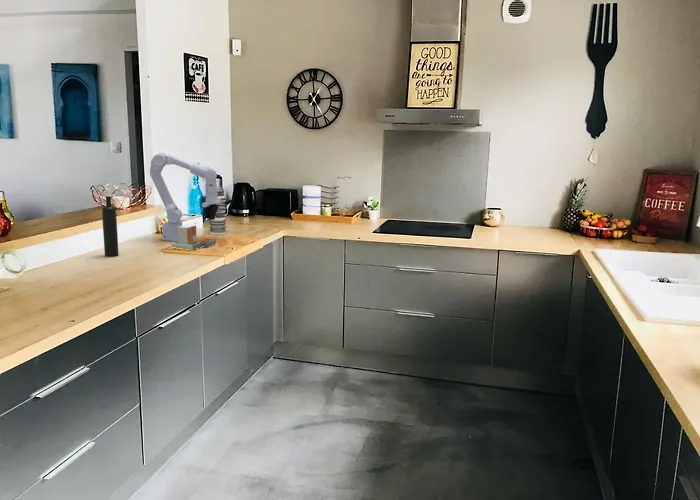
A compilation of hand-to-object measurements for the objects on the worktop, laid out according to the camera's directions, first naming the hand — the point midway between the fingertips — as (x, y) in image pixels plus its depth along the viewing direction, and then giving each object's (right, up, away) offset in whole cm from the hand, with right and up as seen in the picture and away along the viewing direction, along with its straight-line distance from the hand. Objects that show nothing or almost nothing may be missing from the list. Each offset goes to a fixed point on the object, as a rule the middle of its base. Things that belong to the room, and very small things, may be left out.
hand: (212, 219), depth 303 cm
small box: (-8, -15, -18) cm, 24 cm away
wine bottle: (-36, -18, -38) cm, 56 cm away
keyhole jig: (-6, -14, -16) cm, 22 cm away
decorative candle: (-2, -6, +21) cm, 22 cm away
